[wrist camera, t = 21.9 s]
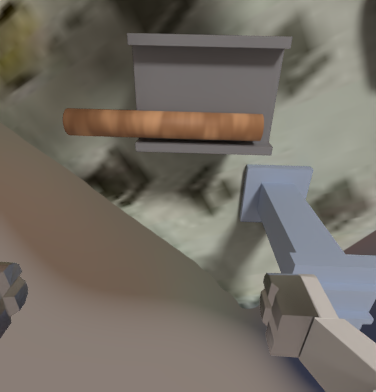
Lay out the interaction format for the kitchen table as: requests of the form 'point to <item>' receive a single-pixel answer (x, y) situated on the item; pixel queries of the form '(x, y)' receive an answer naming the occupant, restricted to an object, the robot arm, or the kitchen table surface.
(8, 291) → the robot arm
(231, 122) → the dowel
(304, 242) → the shelf post
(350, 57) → the kitchen table surface
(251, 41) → the tray stand
